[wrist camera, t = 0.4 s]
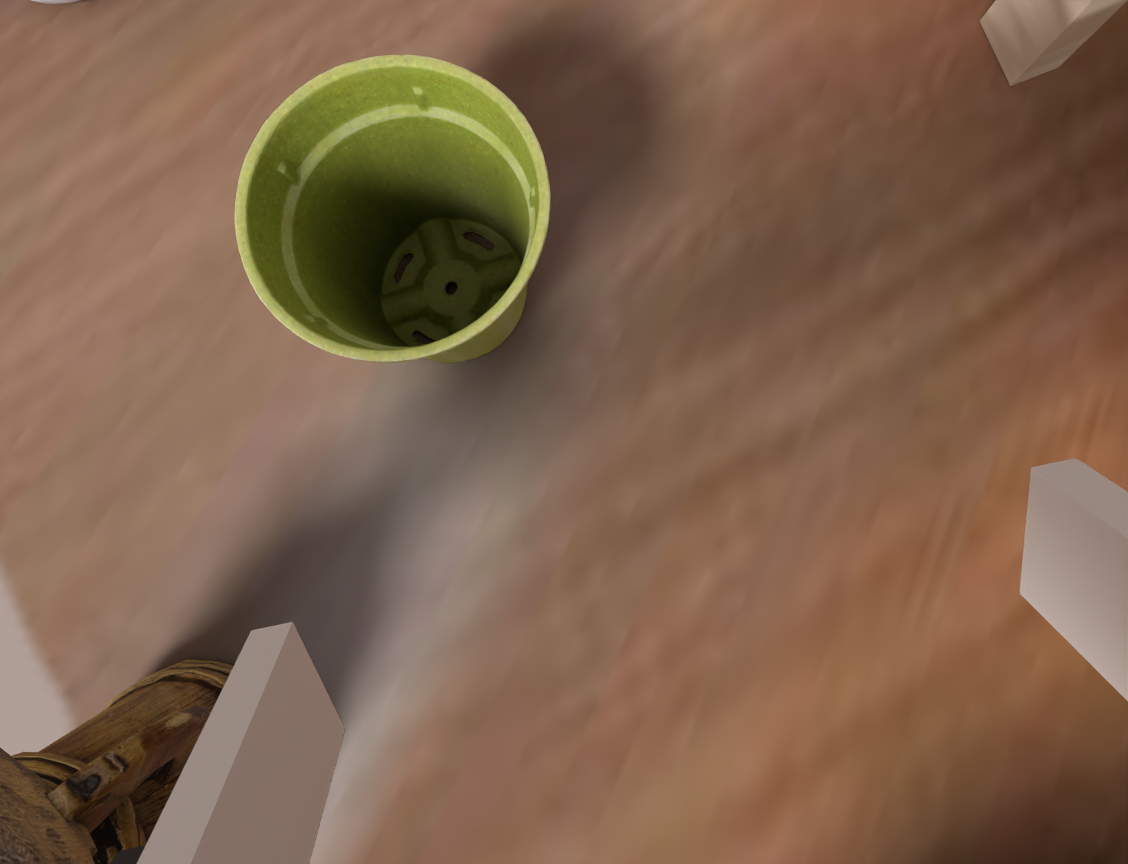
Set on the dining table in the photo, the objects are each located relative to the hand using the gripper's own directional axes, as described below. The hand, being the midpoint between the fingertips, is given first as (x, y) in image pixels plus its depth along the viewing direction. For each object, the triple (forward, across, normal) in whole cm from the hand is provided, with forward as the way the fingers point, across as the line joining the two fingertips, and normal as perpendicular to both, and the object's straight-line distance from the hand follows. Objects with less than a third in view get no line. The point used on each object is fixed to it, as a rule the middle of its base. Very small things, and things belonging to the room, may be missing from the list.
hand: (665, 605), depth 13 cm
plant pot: (+19, +5, -2) cm, 20 cm away
